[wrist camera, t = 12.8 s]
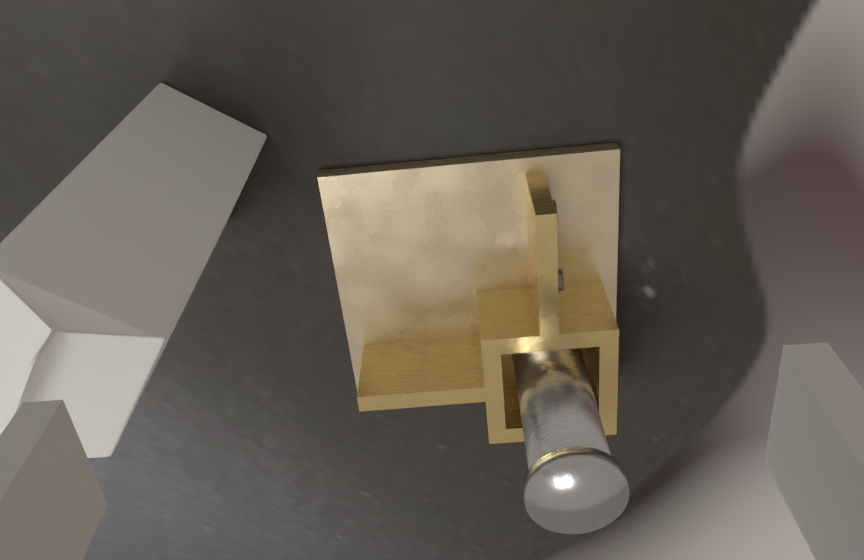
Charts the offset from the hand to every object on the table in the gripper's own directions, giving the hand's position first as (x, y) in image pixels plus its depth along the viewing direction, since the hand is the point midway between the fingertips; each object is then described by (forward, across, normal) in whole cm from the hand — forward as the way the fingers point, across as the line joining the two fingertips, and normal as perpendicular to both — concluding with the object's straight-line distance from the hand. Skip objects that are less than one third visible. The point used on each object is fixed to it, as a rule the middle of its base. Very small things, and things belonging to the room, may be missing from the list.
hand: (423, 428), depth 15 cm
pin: (+28, +5, -18) cm, 33 cm away
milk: (+29, -13, -5) cm, 32 cm away
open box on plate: (+29, +2, -14) cm, 32 cm away
